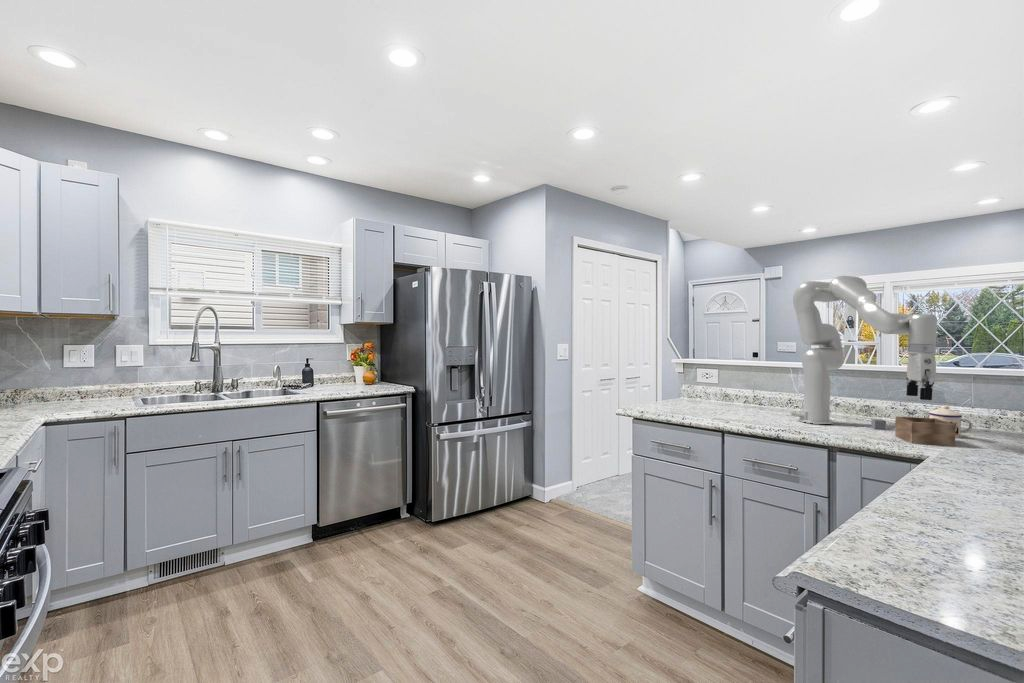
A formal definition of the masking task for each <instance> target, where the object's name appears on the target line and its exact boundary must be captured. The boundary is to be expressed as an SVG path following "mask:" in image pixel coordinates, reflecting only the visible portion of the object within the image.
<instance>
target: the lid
mask: <svg viewBox="0 0 1024 683" xmlns="http://www.w3.org/2000/svg"><path fill="white" fill-rule="evenodd" d="M870 421H871V423H870V426H864V427H866V428H865V429H873V430H874V431H875V430H878V431H886V430H887V429H886V428H887V426H886V424H887V420H884V419H882V418H871V420H870ZM892 429H893V430H892V431H895V428H892Z"/></svg>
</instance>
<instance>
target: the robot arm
mask: <svg viewBox="0 0 1024 683" xmlns="http://www.w3.org/2000/svg"><path fill="white" fill-rule="evenodd" d="M838 301H842V302H844V303H845V304H847V305H848V306H850V307H851V308H852V309H854V310H855V311H856V312H857V314H858V316H859V318H860V319H861V320H862V321H863V322H864V323H866V324H867V325H868V326H870V327H871V328H873V329H874V330H875V331H877V332H879V333H881V334H885V335H907V350H906V351H907V353H908V357H907V366H906V373H905V374H906V377H905V378H906V393H905V394H906V396H908V397H918V396H919V399H920V400H921V401H923V400H924V401H932V400H933V389H934V384H935V383H936V380H937V364H936V362H937V361H936V349H937V330H938V328H937V327H938V318H937V316H936V315H935V314H933V313H932V314H929V313H928V314H927V313H923V314H922V313H918V314H917V313H915V314H908V313H907V314H906V313H890V312H889V311H887V310H885V309H884V308H882V307H881V306H880V305H878V304H877V303H876V301H877V294H876V293H875V292H873V291H872V290H870V289H869V288H868V286H867V283H866V281H865V279H863V278H861V277H860V276H852V275H851V276H850V275H838V276H836V277H835V278H832V279H831V281H827V282H826V281H816V280H814V281H812V280H811V281H806V282H803V283H800V285H798V286H797V287H796V288H795V290H794V293H793V296H792V304H793V308H794V311H795V313H796V314H795V315H796V319H797V325H798V327H799V333H800V334H799V335H800V338H801V341H802V342H803V343H804V344H805V345H808V346H818V347H814V348H810V349H807V350H806V351H805V352H804V353H803V354H802V357H801V365H802V370H803V406H802V407H803V408H802V409H801V410H800V411H798V412H797V411H790V417H796V418H798V421H799V422H801V423H804V422H806V423H805V424H810V423H813V424H812V425H819V424H832V425H834V424H835V421H834V420H832V419H831V418H830V416H831V377H830V375H829V372H828V371H836V370H839V369H840V368H841V367H842V366H843V365H844V362H845V353H844V349H843V345H842V340H841V336H840V332H839V330H838V329H837V328H836V327H835V326H833V325H832V324H830V323H823V322H822V318H821V313H820V311H819V309H818V307H817V305H816V304H815V302H819V303H820V302H822V303H831V302H838ZM918 383H920V389H919V385H918ZM919 390H920V391H919Z"/></svg>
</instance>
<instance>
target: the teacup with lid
mask: <svg viewBox="0 0 1024 683" xmlns="http://www.w3.org/2000/svg"><path fill="white" fill-rule="evenodd" d="M928 414H929V418H936V419H939V420H942V421H946V422H949V423H952V424H955V425H956V429H955V439H960V438H961V435H962V434H965V433H969V432H971V431H972V429H973V426H974V425H973V422H972V421H971V420H969V419H965V418H962V417H963V416H962V414H961V413H960V412H957V411H955V410H953V409H951V408H950V406H949V405H941V407H940V408H937V409H933V410H929V412H928ZM962 422H967V423H968V424H969V427H968V428H967V429H966V430H962Z"/></svg>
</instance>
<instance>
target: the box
mask: <svg viewBox="0 0 1024 683" xmlns="http://www.w3.org/2000/svg"><path fill="white" fill-rule="evenodd" d="M894 421H895V424H894V425H895V427H894V429H895V430H894V436H895V437H896V438H898V439H901V440H903V441H905V442H907V443H909V444H916V445H930V446H943V447H945V446H946V447H955V446H956V438H955V429H956V425H955V424H952V423H949V422H946V421H942V420H939V419H936V418H930V417H914V416H897V415H895V420H894Z"/></svg>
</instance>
